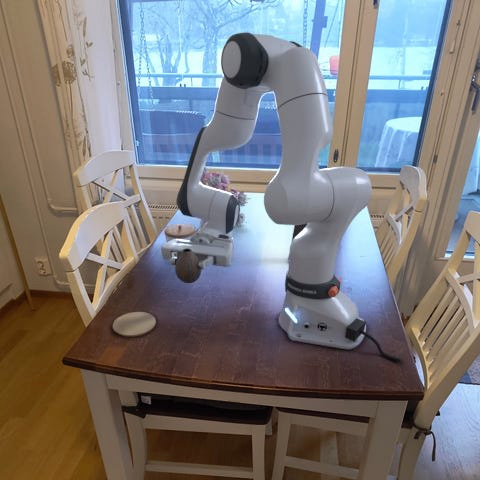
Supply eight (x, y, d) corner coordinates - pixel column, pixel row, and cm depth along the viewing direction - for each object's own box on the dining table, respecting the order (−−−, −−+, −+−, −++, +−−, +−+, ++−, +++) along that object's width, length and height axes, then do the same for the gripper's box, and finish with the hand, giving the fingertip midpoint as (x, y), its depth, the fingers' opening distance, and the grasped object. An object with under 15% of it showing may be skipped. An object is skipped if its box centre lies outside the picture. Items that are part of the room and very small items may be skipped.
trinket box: (163, 246, 153) (161, 221, 148) (192, 242, 156) (190, 217, 151) (170, 258, 145) (167, 232, 140) (200, 253, 148) (199, 228, 143)
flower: (228, 240, 154) (247, 171, 149) (175, 224, 161) (191, 158, 156) (246, 244, 173) (263, 183, 168) (198, 230, 179) (214, 170, 175)
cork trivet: (164, 319, 113) (164, 318, 112) (138, 341, 104) (137, 339, 104) (131, 309, 117) (131, 308, 117) (103, 329, 109) (103, 328, 108)
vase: (197, 287, 112) (195, 256, 107) (172, 284, 113) (169, 254, 108) (204, 275, 117) (203, 246, 112) (181, 273, 118) (178, 243, 114)
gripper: (171, 230, 123) (149, 249, 112) (238, 238, 118) (222, 258, 107) (173, 250, 127) (152, 270, 116) (238, 258, 122) (223, 280, 111)
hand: (186, 264), depth 112 cm, fingers closed on vase, 7 cm apart
